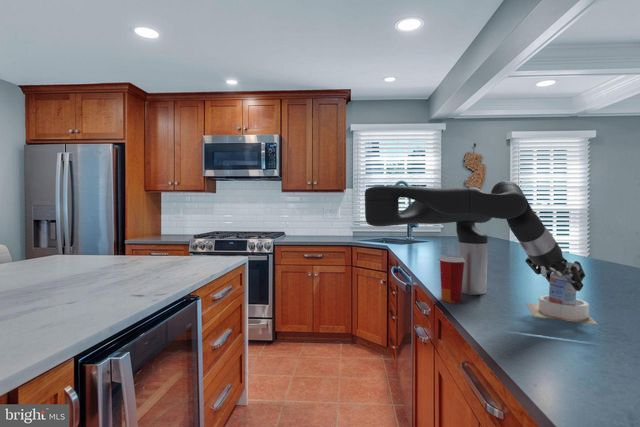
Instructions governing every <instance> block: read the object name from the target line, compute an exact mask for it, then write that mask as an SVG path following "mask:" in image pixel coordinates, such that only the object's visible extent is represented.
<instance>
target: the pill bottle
mask: <svg viewBox="0 0 640 427" xmlns="http://www.w3.org/2000/svg"><path fill="white" fill-rule="evenodd" d="M565 271H566V268H565V270H564V271H563V273H564V272H565ZM569 276H570V277H572V276H573V275H572V274H571V273H570V274H569ZM548 290H549V292H548V295H549V301H550V302H554V303H559V304H565V305H576V299H577V291H576V290H575V289H574V287H573V286H572V284H571V283H570V281H569V280H568V279H566V278H562V277H561V276H560V275H559V274H557V273H555V272H552V273H551V274H550V283H549V288H548Z"/></svg>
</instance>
